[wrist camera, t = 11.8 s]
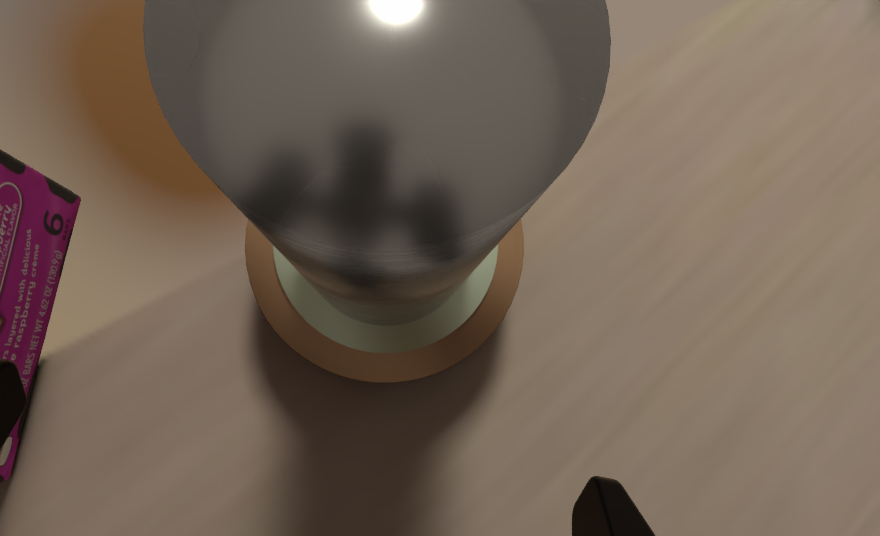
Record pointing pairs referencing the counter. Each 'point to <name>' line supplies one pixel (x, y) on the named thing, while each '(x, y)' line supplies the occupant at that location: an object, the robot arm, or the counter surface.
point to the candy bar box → (29, 270)
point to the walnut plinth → (376, 346)
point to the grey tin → (380, 127)
